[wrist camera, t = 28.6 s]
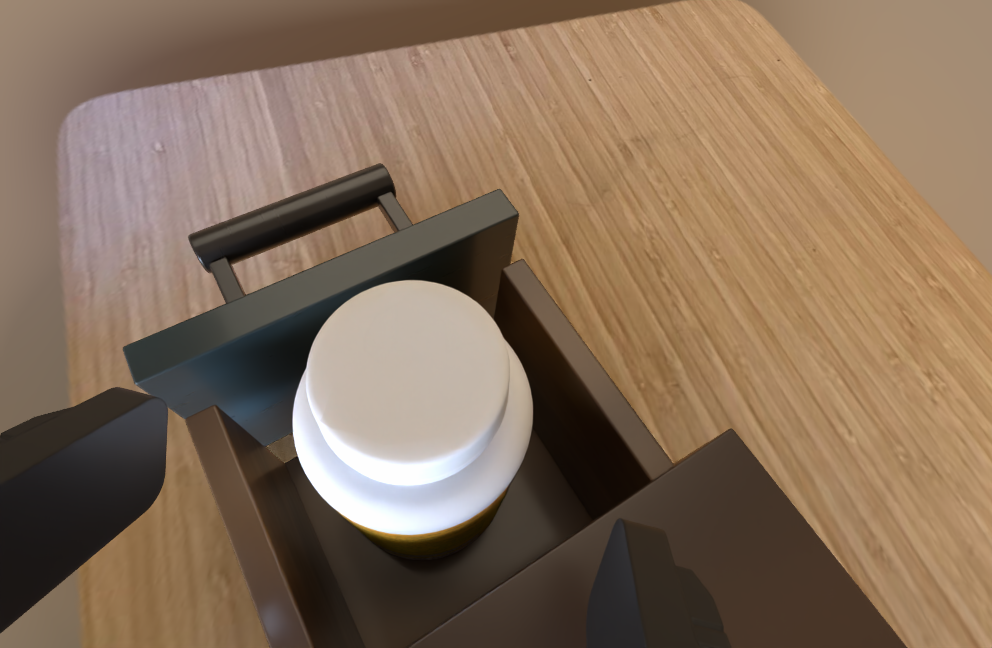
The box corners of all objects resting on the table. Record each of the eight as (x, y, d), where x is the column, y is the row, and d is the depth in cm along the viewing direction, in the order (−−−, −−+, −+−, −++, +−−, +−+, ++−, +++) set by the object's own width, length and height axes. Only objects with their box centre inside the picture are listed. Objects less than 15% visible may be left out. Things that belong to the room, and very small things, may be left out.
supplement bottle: (513, 551, 19) (575, 501, 9) (346, 570, 18) (242, 535, 9) (495, 397, 21) (531, 240, 12) (348, 408, 20) (268, 251, 11)
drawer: (190, 336, 22) (75, 216, 15) (434, 230, 26) (429, 94, 19) (388, 822, 16) (342, 989, 9) (679, 596, 19) (808, 592, 12)
